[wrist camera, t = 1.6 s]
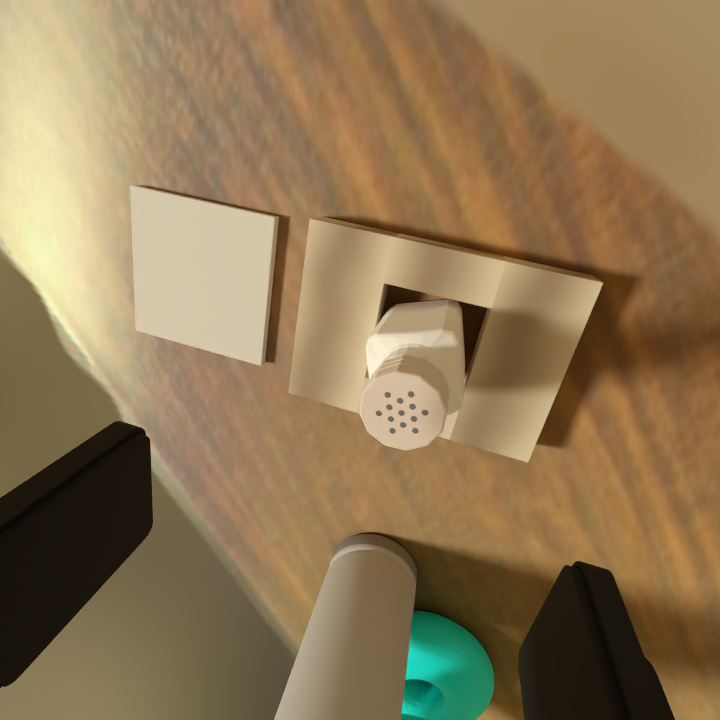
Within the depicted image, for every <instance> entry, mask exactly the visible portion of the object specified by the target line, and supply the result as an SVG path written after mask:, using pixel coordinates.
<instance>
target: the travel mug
mask: <svg viewBox="0 0 720 720" xmlns="http://www.w3.org/2000/svg"><path fill="white" fill-rule="evenodd" d="M416 583H417V568H416V565H415V563H414V561H413V559H412V558H411V556H410V554H409V553H408V552H407V551H406V550H405V549H404V548H403V547H402V546H400V545H399V544H398V543H396V542H394V541H392V540H391V539H389V538H386V537H383V536H379V535H375V534H359V535H355V536H352V537H349V538H347V539H346V540H344V541H342V542H341V543H340V544H339V545H338V547H337V548H336V550H335V552H334V554H333V557H332V560H331V563H330V566H329V569H328V571H327V574H326V577H325V580H324V582H323V585H322V588H321V591H320V594H319V596H318V599H317V602H316V605H315V607H314V610H313V613H312V616H311V619H310V621H309V624H308V627H307V630H306V633H305V635H304V638H303V641H302V644H301V647H300V649H299V652H298V655H297V658H296V660H295V663H294V666H293V669H292V672H291V674H290V677H289V680H288V683H287V686H286V688H285V691H284V694H283V697H282V700H281V702H280V705H279V708H278V711H277V713H276V716H275V719H274V720H401V714H402V705H403V696H404V688H405V679H406V670H407V661H408V653H409V644H410V635H411V627H412V618H413V609H414V601H415V592H416Z"/></svg>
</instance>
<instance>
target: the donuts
mask: <svg viewBox="0 0 720 720" xmlns="http://www.w3.org/2000/svg"><path fill="white" fill-rule="evenodd" d="M493 691H494V672H493V668H492V665H491V662H490V659H489V657H488V655H487V653H486V651H485V650H484V648H483V647H482V645H481V644H480V643H479V641H478V640H477V639H476V638H475V637H474V636H473V635H472V634H471V633H470V632H468V631H467V630H466V629H465V628H463V627H461V626H460V625H459V624H457V623H455V622H453V621H452V620H450V619H447V618H445V617H443V616H440V615H437V614H434V613H430V612H425V611H415V610H413V618H412V627H411V635H410V644H409V653H408V661H407V670H406V679H405V688H404V696H403V705H402V714H401V720H475V719H477V718H478V717H479V716H480V715H481V714H482V713H483V712H484V711H485V709H486V708H487V707H488V705H489V703H490V701H491V698H492V696H493Z"/></svg>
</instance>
